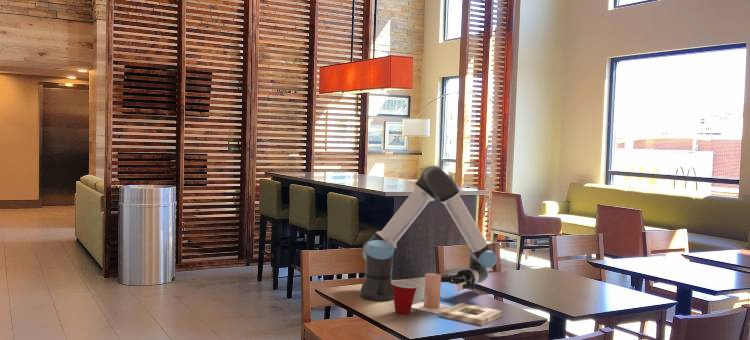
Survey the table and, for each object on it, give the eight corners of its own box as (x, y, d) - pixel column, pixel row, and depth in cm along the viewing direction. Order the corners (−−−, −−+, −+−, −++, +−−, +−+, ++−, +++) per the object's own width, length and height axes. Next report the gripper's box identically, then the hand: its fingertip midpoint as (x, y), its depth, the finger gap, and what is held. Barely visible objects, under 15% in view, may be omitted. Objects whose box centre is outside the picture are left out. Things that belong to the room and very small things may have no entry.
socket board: (439, 316, 249) (440, 311, 249) (461, 307, 264) (461, 302, 264) (482, 325, 239) (482, 320, 239) (502, 316, 254) (502, 311, 254)
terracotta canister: (420, 306, 261) (422, 274, 260) (428, 303, 266) (430, 272, 266) (434, 309, 257) (436, 277, 257) (442, 306, 263) (444, 275, 262)
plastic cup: (414, 317, 245) (416, 286, 245) (387, 314, 248) (388, 284, 247) (418, 310, 256) (420, 280, 255) (392, 308, 258) (393, 278, 258)
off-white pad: (407, 307, 260) (407, 306, 260) (425, 301, 272) (425, 300, 271) (437, 314, 252) (437, 313, 252) (454, 307, 263) (454, 306, 263)
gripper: (492, 290, 279) (470, 299, 261) (442, 281, 293) (417, 288, 276) (493, 273, 278) (471, 280, 261) (442, 264, 293) (418, 271, 276)
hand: (443, 284), depth 268 cm, fingers open, 13 cm apart
